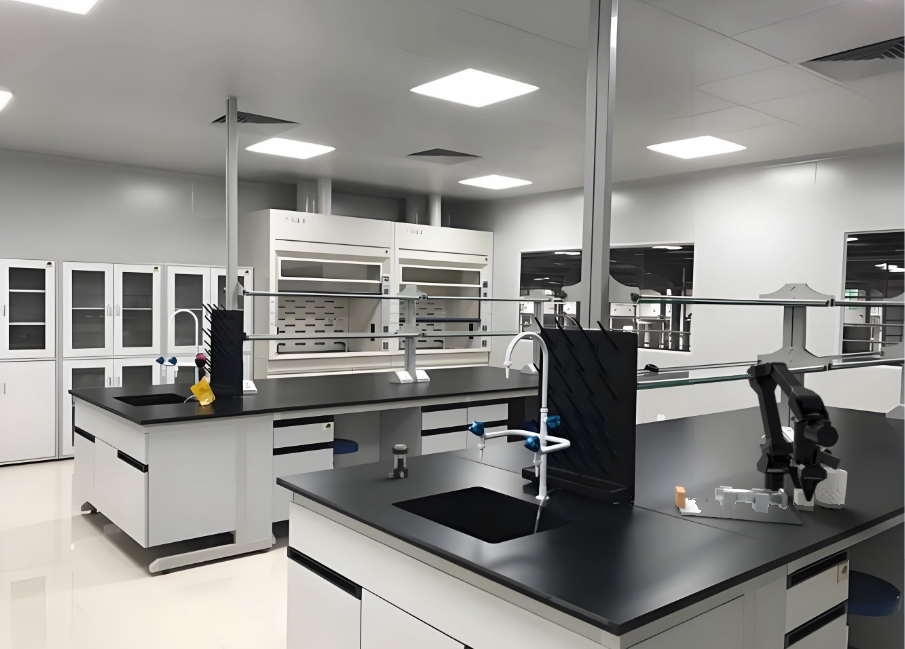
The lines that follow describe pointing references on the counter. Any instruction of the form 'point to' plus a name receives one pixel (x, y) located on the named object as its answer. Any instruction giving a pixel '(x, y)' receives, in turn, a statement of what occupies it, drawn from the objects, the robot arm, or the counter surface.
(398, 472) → the push button
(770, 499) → the shaft
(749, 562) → the counter surface
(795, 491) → the block
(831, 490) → the white cup
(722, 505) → the bearing rail
